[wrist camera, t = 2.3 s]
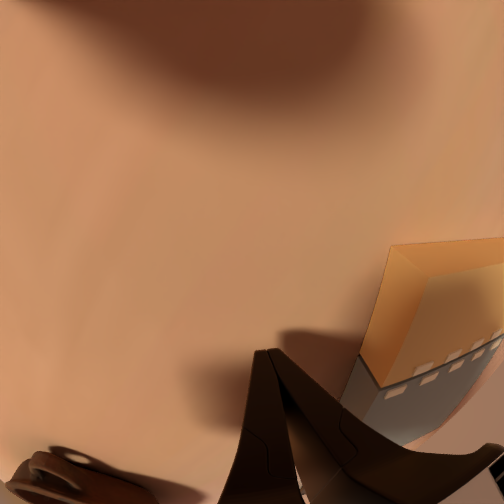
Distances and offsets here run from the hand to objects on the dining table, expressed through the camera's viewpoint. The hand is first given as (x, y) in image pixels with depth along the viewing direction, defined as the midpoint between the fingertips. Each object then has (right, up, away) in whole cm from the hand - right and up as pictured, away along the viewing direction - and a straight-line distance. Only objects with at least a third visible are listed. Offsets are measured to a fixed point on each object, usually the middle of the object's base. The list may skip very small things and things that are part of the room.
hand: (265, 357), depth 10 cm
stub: (+11, +2, +4) cm, 12 cm away
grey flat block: (+11, -7, +8) cm, 15 cm away
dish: (-17, -20, +9) cm, 28 cm away
